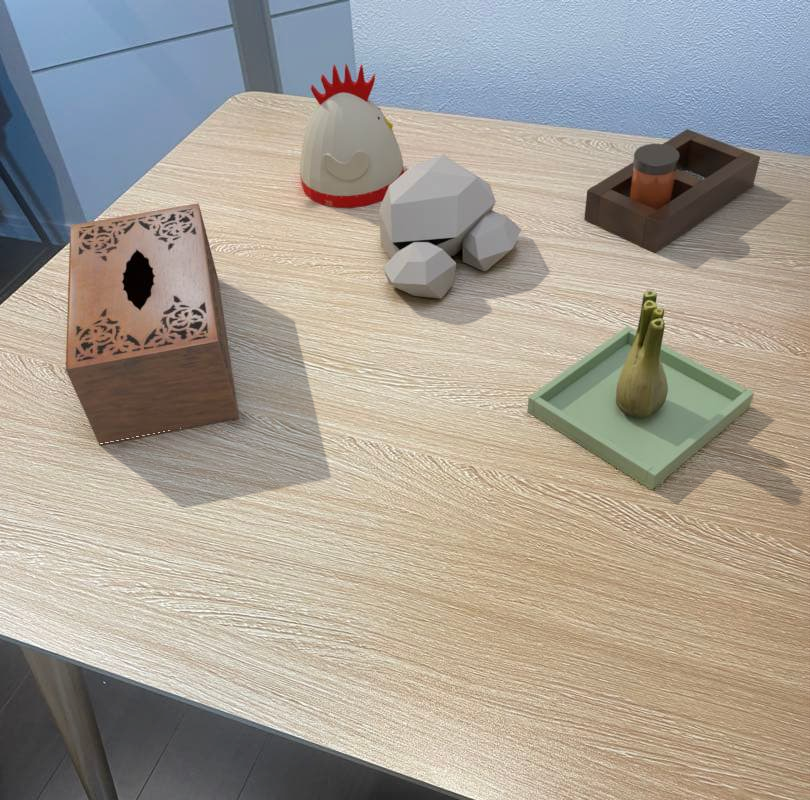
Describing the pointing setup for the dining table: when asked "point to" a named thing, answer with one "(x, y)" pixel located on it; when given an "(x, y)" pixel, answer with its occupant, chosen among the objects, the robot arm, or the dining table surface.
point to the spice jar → (654, 174)
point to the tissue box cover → (147, 325)
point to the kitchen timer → (348, 146)
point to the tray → (639, 436)
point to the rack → (674, 192)
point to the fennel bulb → (644, 364)
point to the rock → (440, 226)
